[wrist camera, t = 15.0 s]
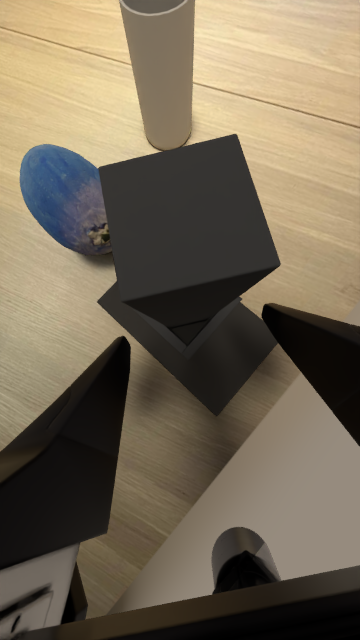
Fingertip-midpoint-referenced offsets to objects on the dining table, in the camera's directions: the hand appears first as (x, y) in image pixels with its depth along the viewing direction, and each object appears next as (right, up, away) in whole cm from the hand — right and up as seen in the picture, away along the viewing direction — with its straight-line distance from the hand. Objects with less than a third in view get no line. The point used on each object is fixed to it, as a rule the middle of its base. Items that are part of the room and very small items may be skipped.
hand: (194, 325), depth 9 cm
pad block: (0, +2, +8) cm, 8 cm away
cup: (-3, +31, +13) cm, 34 cm away
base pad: (0, 0, +9) cm, 9 cm away
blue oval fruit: (-11, +12, +11) cm, 20 cm away
